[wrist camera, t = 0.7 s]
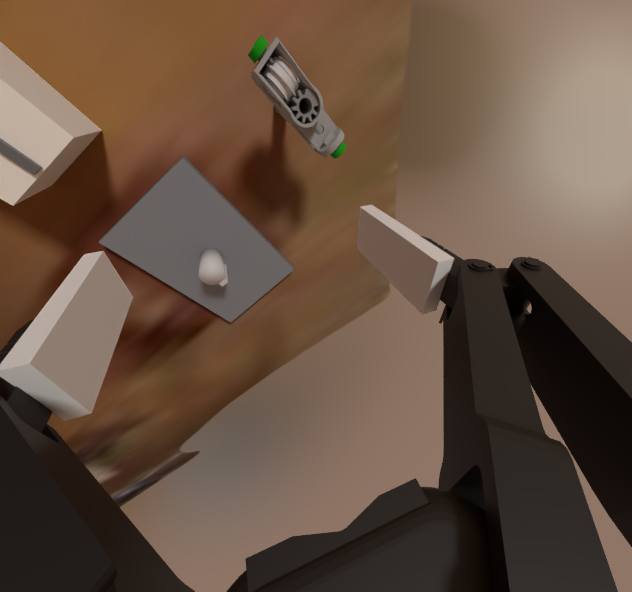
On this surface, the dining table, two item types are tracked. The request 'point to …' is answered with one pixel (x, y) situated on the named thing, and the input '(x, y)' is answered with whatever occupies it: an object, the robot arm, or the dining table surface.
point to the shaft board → (198, 243)
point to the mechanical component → (295, 97)
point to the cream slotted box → (35, 131)
